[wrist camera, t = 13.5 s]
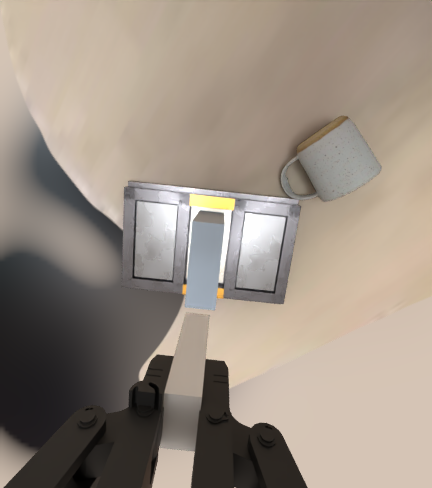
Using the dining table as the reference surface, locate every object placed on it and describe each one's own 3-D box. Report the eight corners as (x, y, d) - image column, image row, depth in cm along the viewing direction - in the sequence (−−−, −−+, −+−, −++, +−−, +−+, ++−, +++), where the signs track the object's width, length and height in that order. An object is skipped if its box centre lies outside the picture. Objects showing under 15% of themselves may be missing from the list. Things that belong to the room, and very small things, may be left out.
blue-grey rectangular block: (199, 210, 39) (192, 221, 29) (224, 212, 39) (225, 224, 29) (193, 276, 41) (184, 307, 31) (216, 278, 41) (215, 310, 31)
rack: (130, 181, 39) (123, 181, 36) (297, 199, 39) (302, 200, 36) (127, 285, 43) (120, 292, 40) (279, 301, 43) (283, 309, 40)
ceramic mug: (332, 117, 36) (360, 102, 29) (363, 168, 38) (396, 167, 30) (266, 166, 38) (276, 164, 31) (297, 213, 40) (314, 222, 32)
